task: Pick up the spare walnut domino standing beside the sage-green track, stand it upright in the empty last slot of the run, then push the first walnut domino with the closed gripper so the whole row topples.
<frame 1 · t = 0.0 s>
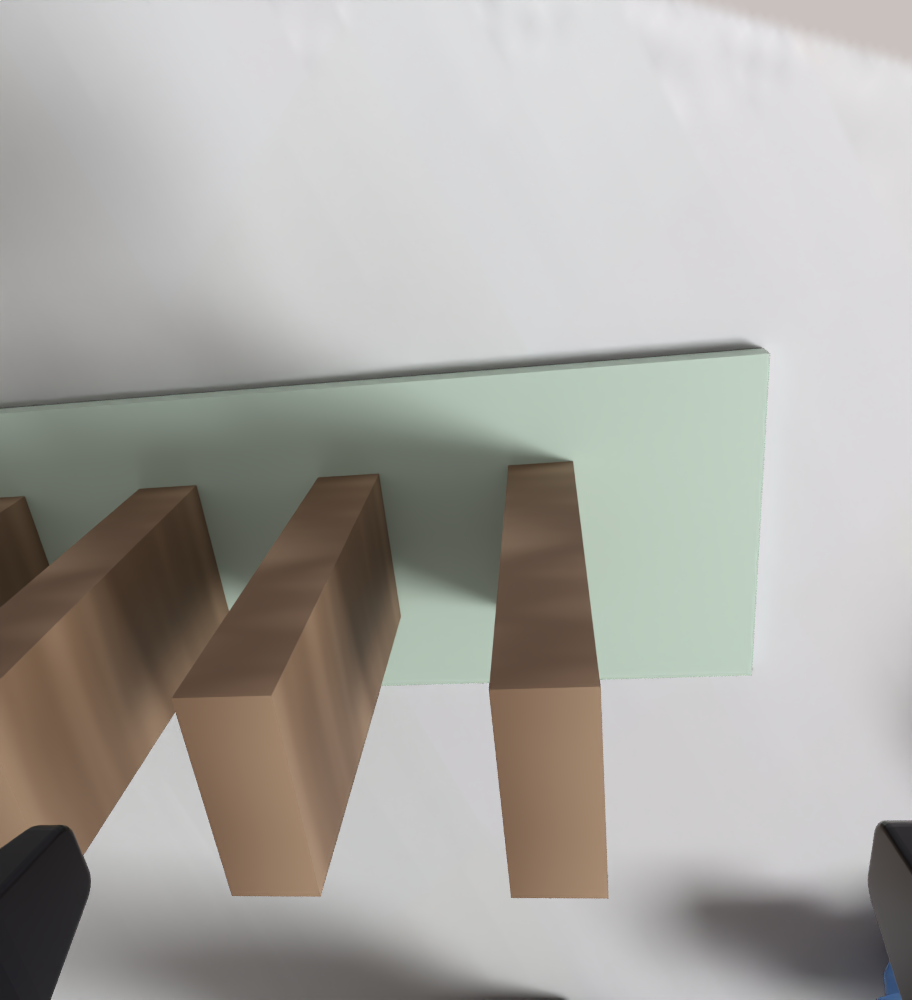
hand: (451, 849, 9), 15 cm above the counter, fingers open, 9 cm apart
domino 4: (23, 566, 25), point 1 cm above the counter, touching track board
domino 3: (187, 558, 24), point 1 cm above the counter, touching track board
domino 1: (545, 540, 23), point 1 cm above the counter, touching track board
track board: (194, 549, 25), on the counter
domino 2: (361, 549, 23), point 1 cm above the counter, touching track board
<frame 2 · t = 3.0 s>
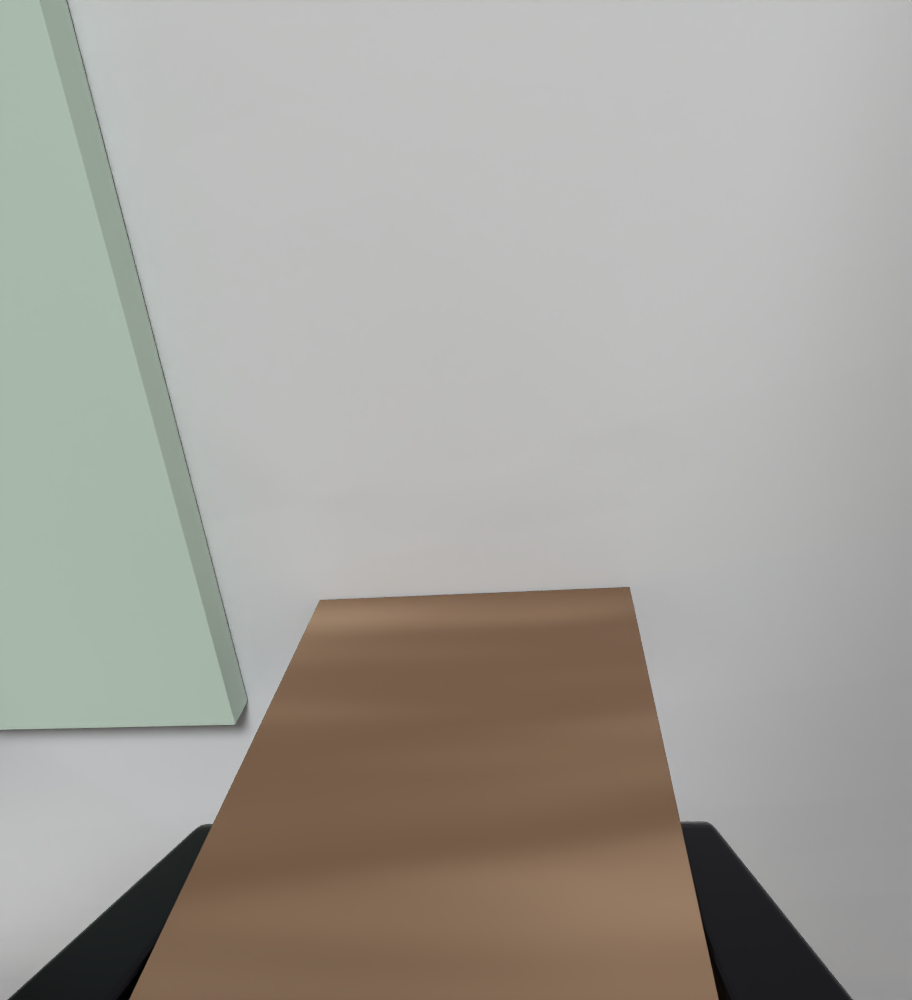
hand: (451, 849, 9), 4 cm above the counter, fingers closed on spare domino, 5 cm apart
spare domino: (476, 642, 12), on the counter, touching gripper
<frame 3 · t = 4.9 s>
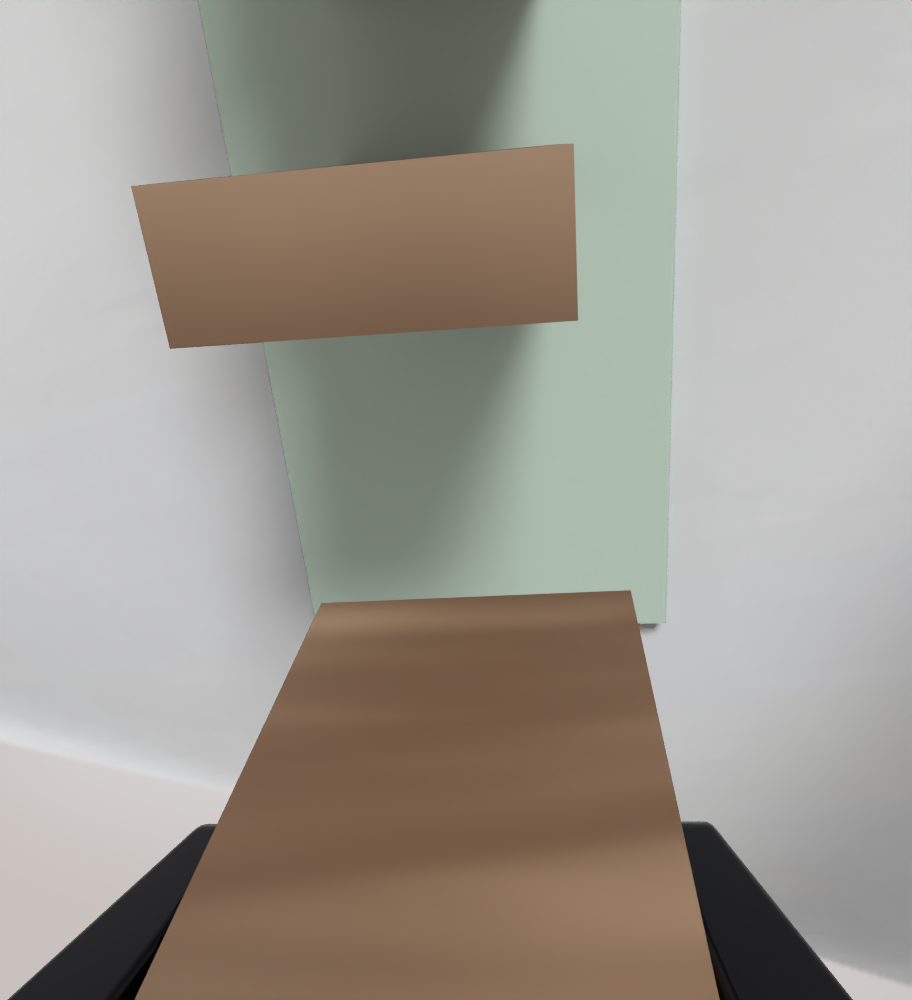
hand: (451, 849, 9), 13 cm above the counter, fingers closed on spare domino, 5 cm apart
domino 4: (450, 198, 18), point 1 cm above the counter, touching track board
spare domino: (477, 645, 12), point 9 cm above the counter, touching gripper
when the fingers open (6 cm above the counter, at t = 6.7 s): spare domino stays where it is, resting on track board.
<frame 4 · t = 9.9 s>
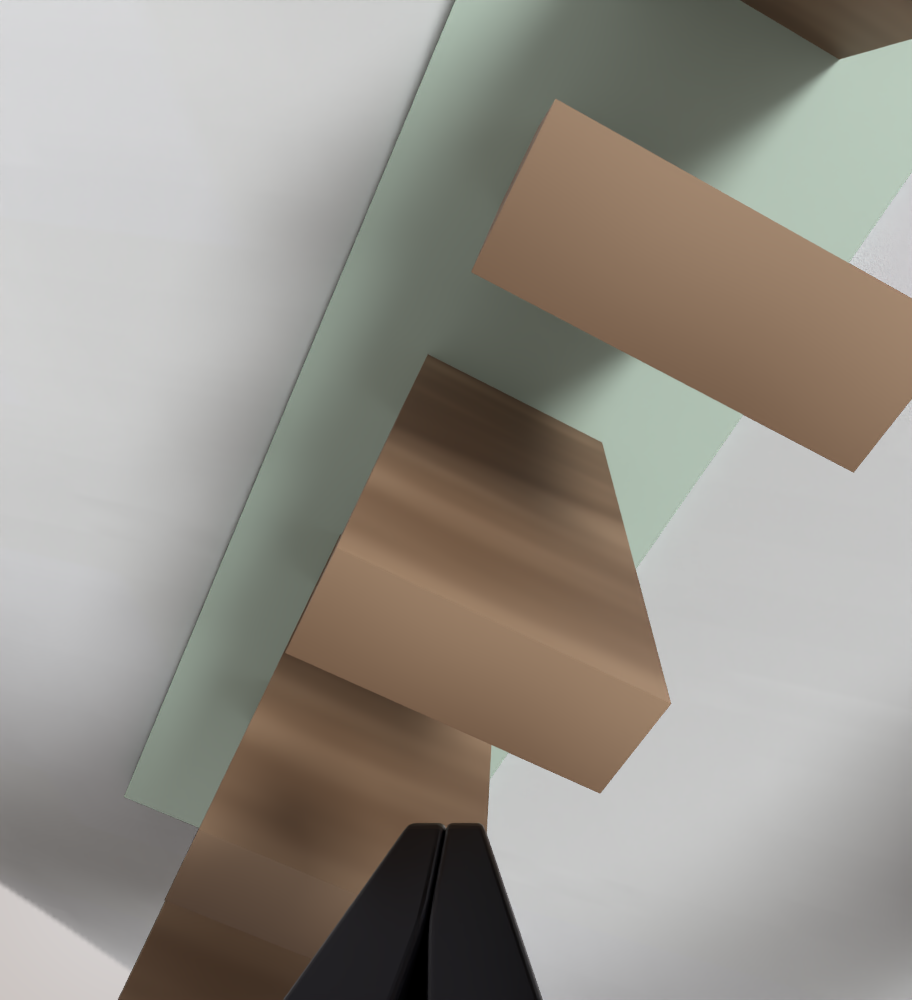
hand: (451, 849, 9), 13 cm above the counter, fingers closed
domino 4: (406, 596, 22), point 1 cm above the counter, touching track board
domino 3: (499, 429, 19), point 1 cm above the counter, touching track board
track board: (499, 422, 20), on the counter
domino 2: (614, 220, 17), point 1 cm above the counter, touching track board
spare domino: (332, 734, 24), point 1 cm above the counter, touching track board
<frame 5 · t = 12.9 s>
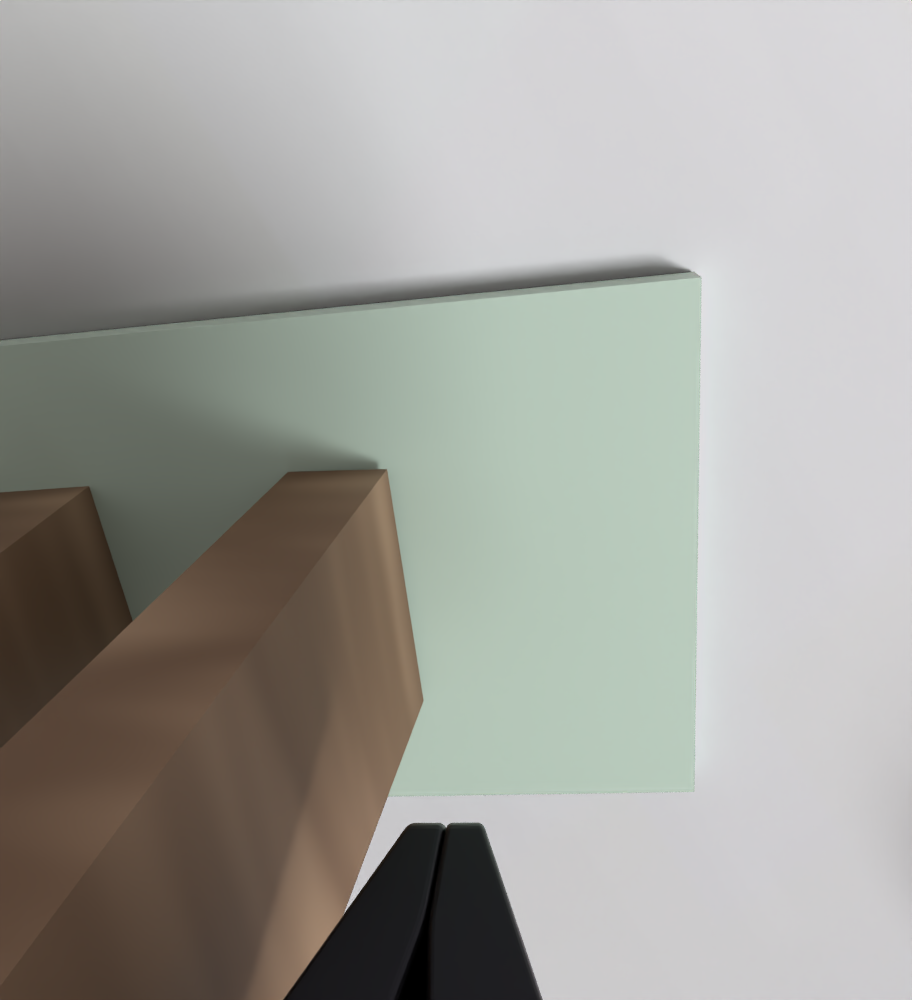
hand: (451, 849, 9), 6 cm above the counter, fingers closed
domino 1: (359, 592, 14), point 1 cm above the counter, tilted 7°, touching gripper, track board
domino 2: (82, 603, 15), point 1 cm above the counter, touching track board
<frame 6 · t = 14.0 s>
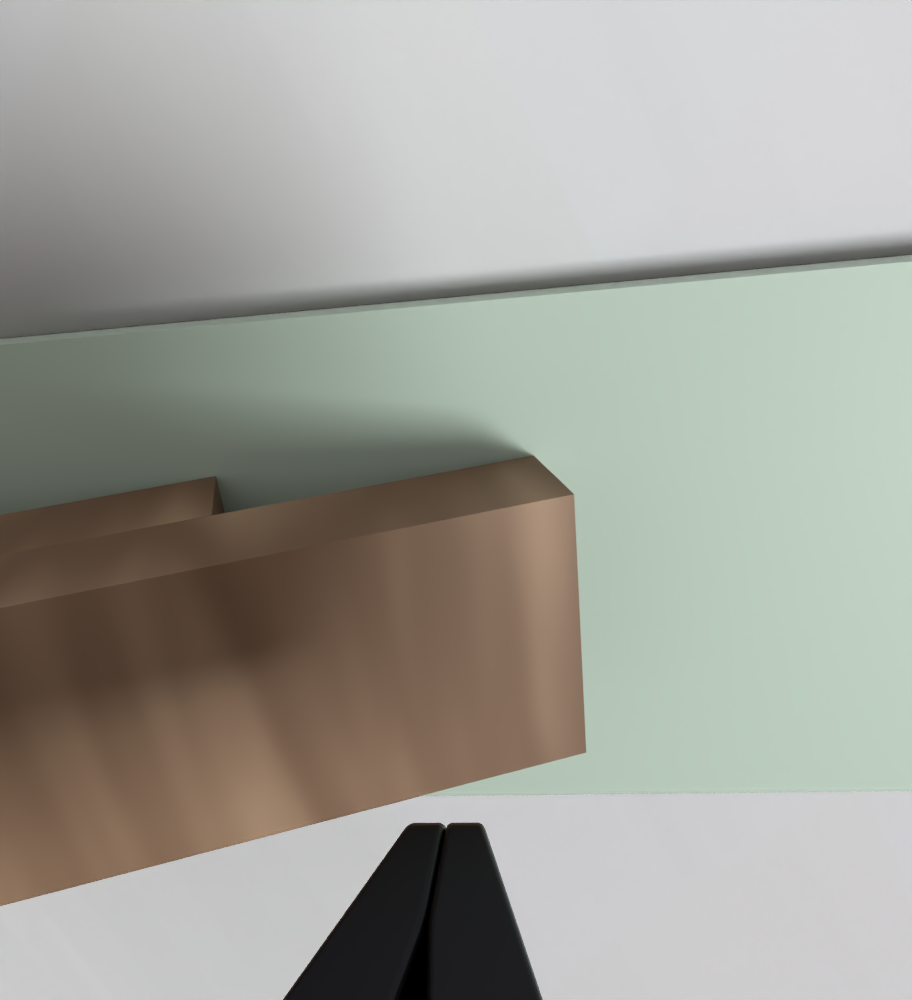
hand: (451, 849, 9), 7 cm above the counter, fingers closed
domino 1: (560, 605, 13), point 1 cm above the counter, tilted 71°, touching domino 2, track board
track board: (60, 588, 16), on the counter
domino 2: (244, 618, 14), point 1 cm above the counter, tilted 71°, touching domino 1, domino 3
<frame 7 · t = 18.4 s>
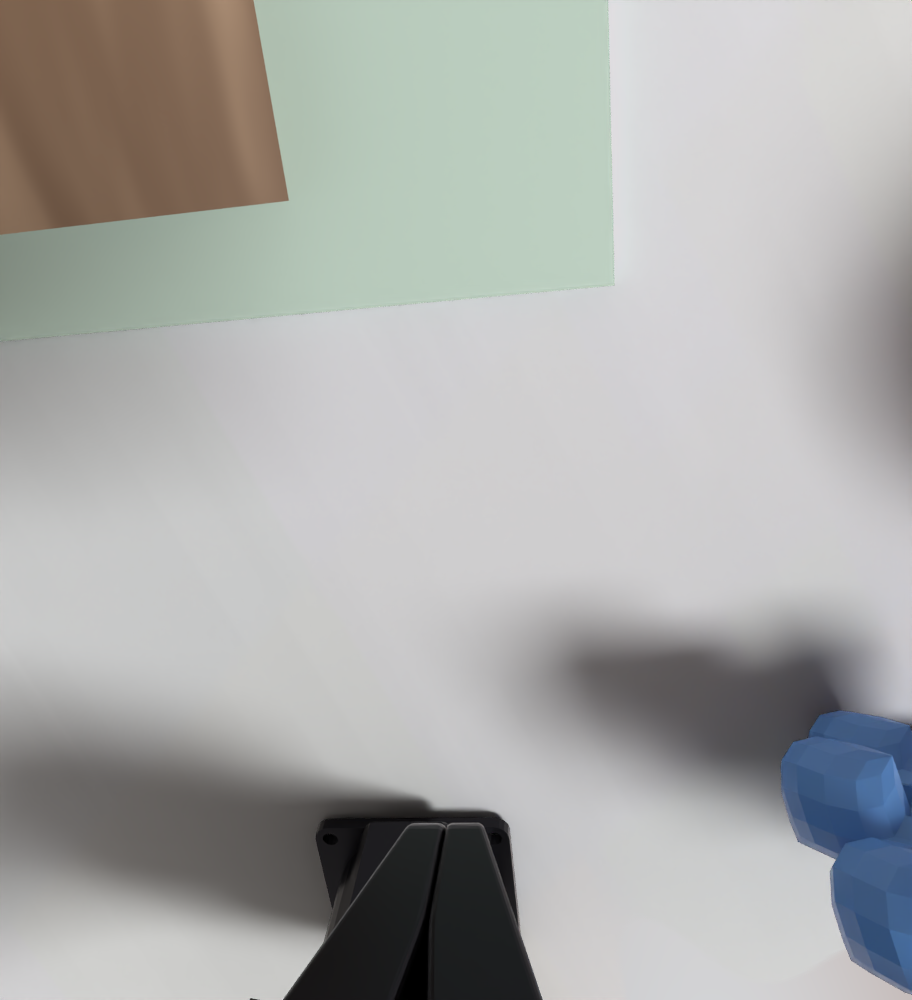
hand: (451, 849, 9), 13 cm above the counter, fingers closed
domino 1: (265, 76, 16), point 1 cm above the counter, tilted 71°, touching domino 2, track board
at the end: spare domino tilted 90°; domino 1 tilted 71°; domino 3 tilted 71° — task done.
